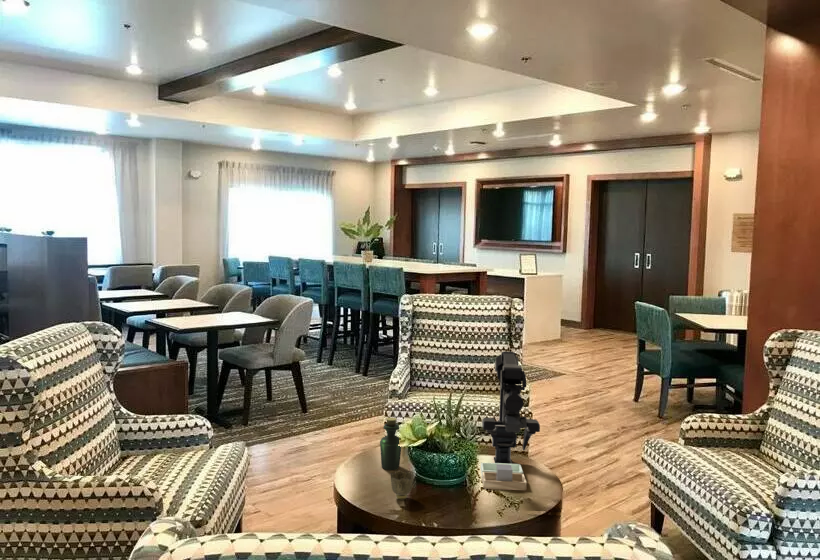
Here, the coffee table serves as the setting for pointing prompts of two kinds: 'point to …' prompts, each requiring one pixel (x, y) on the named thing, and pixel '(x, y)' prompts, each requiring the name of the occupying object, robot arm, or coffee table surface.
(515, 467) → the bin
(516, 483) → the bin
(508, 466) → the stone block
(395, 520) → the coffee table surface
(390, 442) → the potion bottle
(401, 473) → the cup
